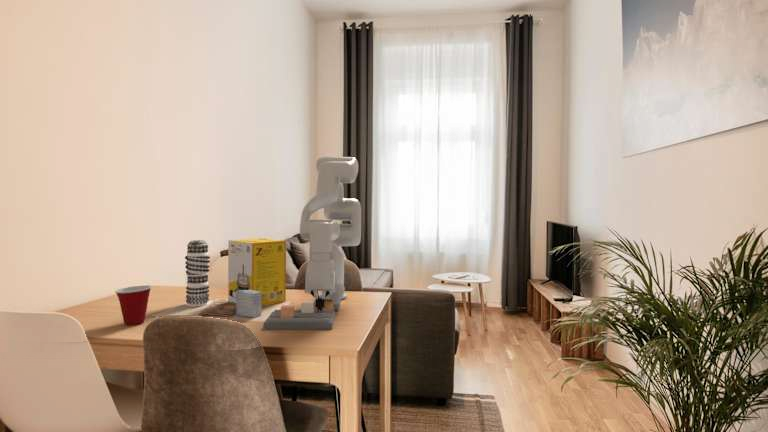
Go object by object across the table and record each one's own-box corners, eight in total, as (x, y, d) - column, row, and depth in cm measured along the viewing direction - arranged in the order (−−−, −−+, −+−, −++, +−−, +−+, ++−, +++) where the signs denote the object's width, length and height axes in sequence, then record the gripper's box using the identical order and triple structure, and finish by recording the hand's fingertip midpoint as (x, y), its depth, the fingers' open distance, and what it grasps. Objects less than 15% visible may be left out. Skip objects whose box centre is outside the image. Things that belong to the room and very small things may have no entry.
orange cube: (282, 317, 153) (282, 305, 153) (294, 317, 154) (294, 305, 153) (280, 319, 150) (280, 307, 150) (292, 319, 150) (293, 307, 150)
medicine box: (261, 315, 165) (261, 291, 165) (253, 318, 161) (253, 293, 161) (244, 312, 168) (244, 289, 168) (235, 315, 164) (235, 291, 164)
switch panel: (272, 317, 163) (272, 308, 163) (334, 317, 164) (334, 308, 164) (263, 329, 148) (263, 319, 148) (332, 329, 149) (332, 320, 149)
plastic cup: (127, 318, 158) (127, 283, 157) (158, 319, 157) (158, 284, 157) (107, 327, 147) (107, 290, 146) (140, 328, 146) (140, 290, 146)
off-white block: (302, 312, 161) (302, 300, 160) (314, 312, 161) (314, 300, 161) (301, 314, 158) (301, 302, 157) (313, 314, 158) (313, 302, 158)
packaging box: (228, 301, 186) (228, 240, 185) (262, 295, 198) (262, 238, 197) (251, 308, 175) (251, 243, 174) (285, 301, 187) (286, 240, 187)
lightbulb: (341, 312, 171) (342, 283, 170) (326, 311, 172) (326, 282, 171) (346, 308, 177) (346, 280, 176) (331, 307, 178) (331, 279, 177)
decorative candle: (189, 308, 174) (189, 242, 173) (181, 303, 181) (181, 240, 180) (213, 304, 180) (213, 241, 179) (205, 300, 187) (205, 239, 186)
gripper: (342, 256, 163) (341, 307, 164) (300, 255, 162) (299, 307, 163) (341, 258, 155) (341, 312, 156) (297, 258, 154) (296, 312, 155)
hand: (319, 309), depth 159 cm, fingers closed
